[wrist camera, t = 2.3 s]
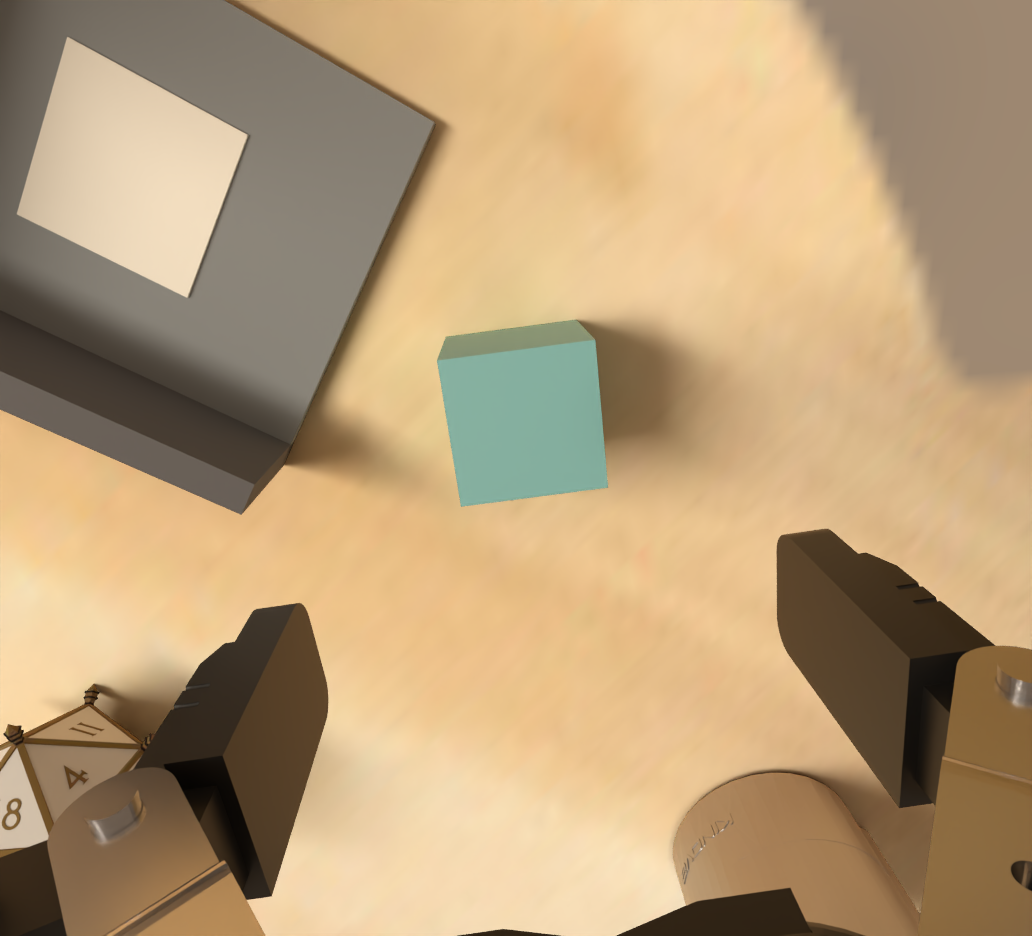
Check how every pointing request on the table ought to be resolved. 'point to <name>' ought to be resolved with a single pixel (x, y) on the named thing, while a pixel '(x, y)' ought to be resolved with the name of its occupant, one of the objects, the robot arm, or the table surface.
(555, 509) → the table surface
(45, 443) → the table surface
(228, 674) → the robot arm
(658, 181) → the table surface
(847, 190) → the table surface
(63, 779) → the game die
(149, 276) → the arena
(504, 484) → the cube
